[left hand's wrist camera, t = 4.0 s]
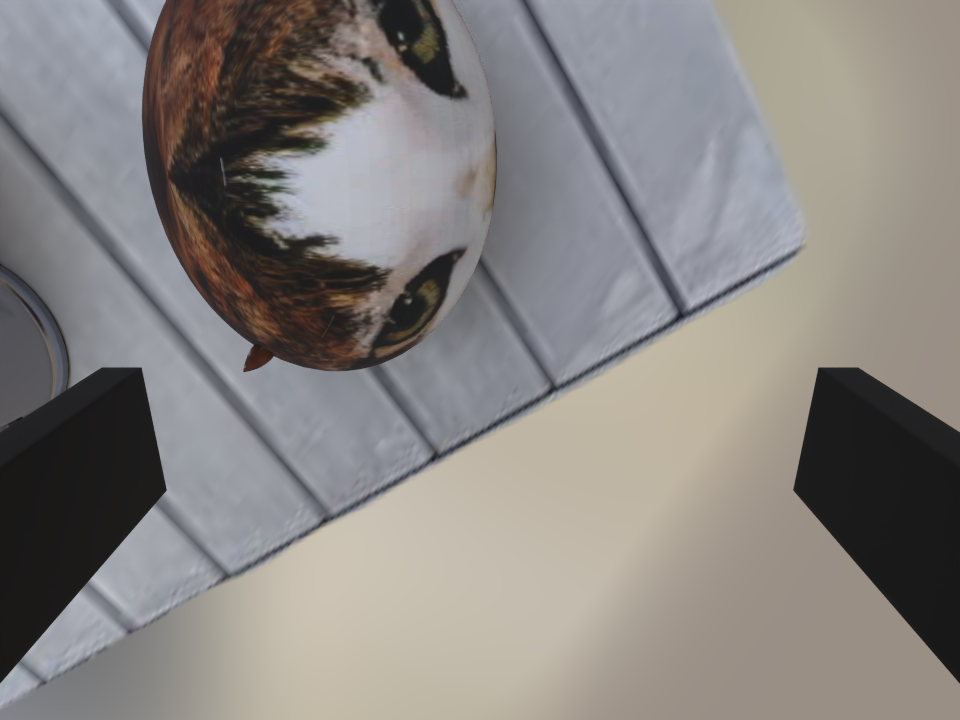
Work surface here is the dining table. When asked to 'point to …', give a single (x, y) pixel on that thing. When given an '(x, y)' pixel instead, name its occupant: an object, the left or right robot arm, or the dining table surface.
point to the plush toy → (321, 168)
